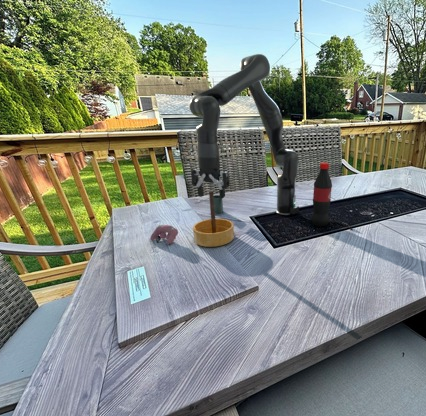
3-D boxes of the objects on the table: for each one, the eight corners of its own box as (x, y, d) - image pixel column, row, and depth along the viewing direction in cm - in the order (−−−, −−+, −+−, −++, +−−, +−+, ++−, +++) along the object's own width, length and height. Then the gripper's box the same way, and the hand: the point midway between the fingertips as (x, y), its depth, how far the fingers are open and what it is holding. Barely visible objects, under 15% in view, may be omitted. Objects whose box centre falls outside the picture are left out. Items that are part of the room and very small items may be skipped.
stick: (217, 237, 107) (214, 190, 101) (215, 238, 106) (212, 191, 99) (213, 236, 108) (210, 190, 101) (211, 238, 106) (208, 191, 100)
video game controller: (177, 244, 104) (181, 227, 105) (168, 244, 100) (172, 226, 100) (157, 240, 107) (162, 223, 108) (148, 239, 103) (152, 222, 103)
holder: (225, 212, 136) (224, 195, 133) (219, 216, 131) (218, 198, 128) (215, 211, 137) (214, 194, 134) (209, 214, 132) (208, 197, 129)
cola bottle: (330, 223, 129) (336, 162, 119) (324, 229, 122) (330, 165, 112) (315, 220, 132) (319, 160, 122) (308, 225, 125) (312, 163, 115)
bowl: (240, 233, 113) (239, 220, 111) (223, 250, 99) (222, 236, 97) (207, 229, 115) (206, 216, 113) (186, 245, 101) (184, 231, 99)
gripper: (231, 155, 98) (233, 196, 103) (196, 152, 100) (200, 193, 106) (221, 157, 91) (224, 202, 96) (184, 155, 93) (189, 198, 99)
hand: (211, 197), depth 101 cm, fingers open, 8 cm apart
